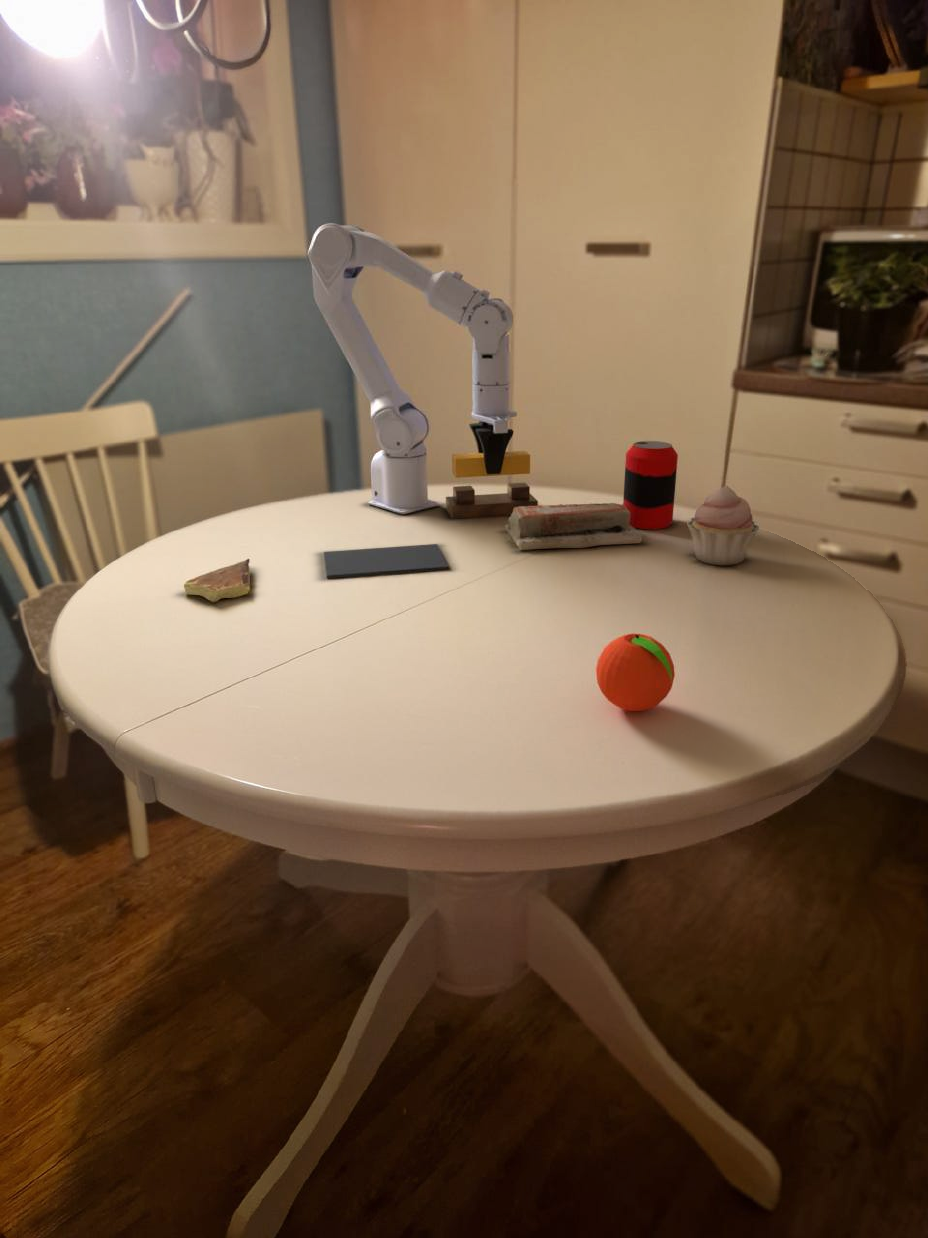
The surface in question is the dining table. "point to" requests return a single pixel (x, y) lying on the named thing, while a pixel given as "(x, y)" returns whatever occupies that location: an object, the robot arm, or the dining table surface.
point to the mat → (384, 561)
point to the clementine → (635, 672)
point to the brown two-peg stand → (488, 501)
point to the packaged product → (571, 526)
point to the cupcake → (722, 528)
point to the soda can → (650, 484)
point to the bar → (476, 466)
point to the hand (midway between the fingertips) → (491, 470)
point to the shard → (221, 582)
